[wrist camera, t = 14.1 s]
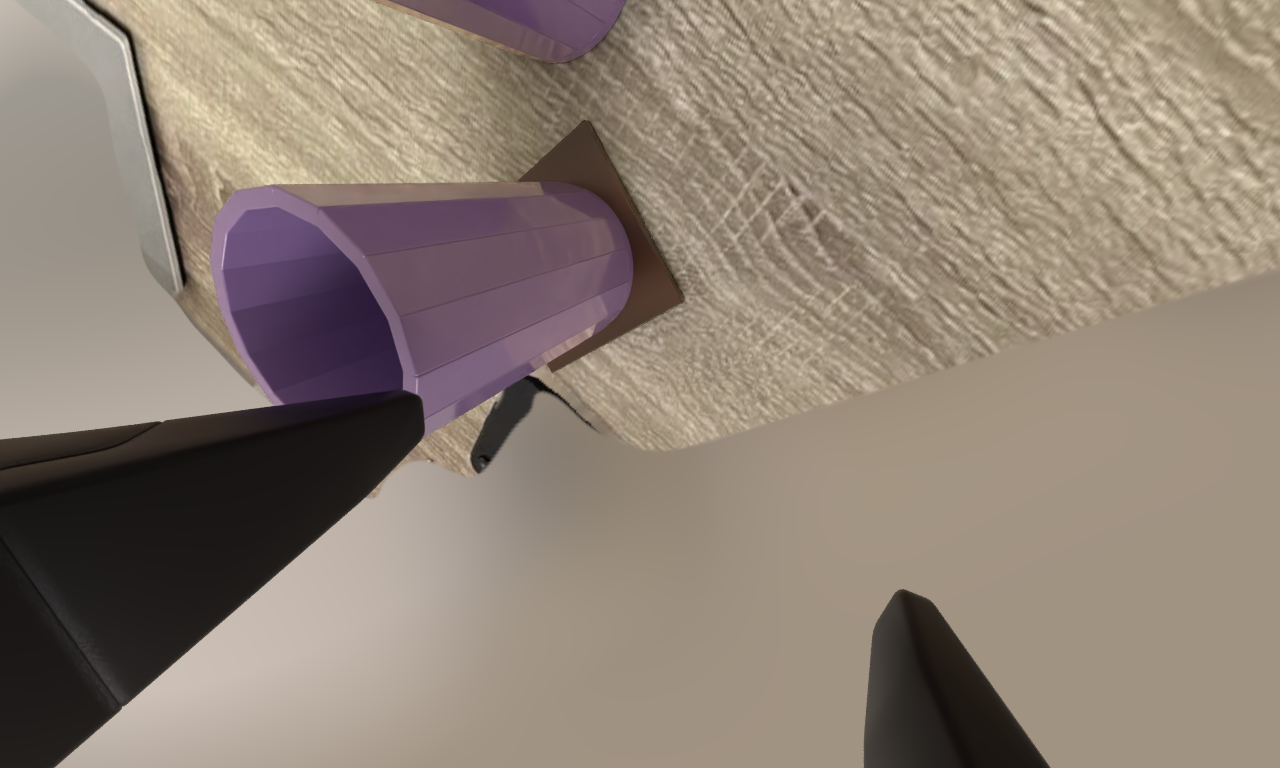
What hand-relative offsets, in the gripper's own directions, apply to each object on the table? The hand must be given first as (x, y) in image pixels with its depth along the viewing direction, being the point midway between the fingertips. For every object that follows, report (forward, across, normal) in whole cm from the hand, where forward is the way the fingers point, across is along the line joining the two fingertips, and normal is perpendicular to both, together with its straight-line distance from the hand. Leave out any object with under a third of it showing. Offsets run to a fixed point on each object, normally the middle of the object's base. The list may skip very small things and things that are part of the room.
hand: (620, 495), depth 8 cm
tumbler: (+13, +9, 0) cm, 16 cm away
